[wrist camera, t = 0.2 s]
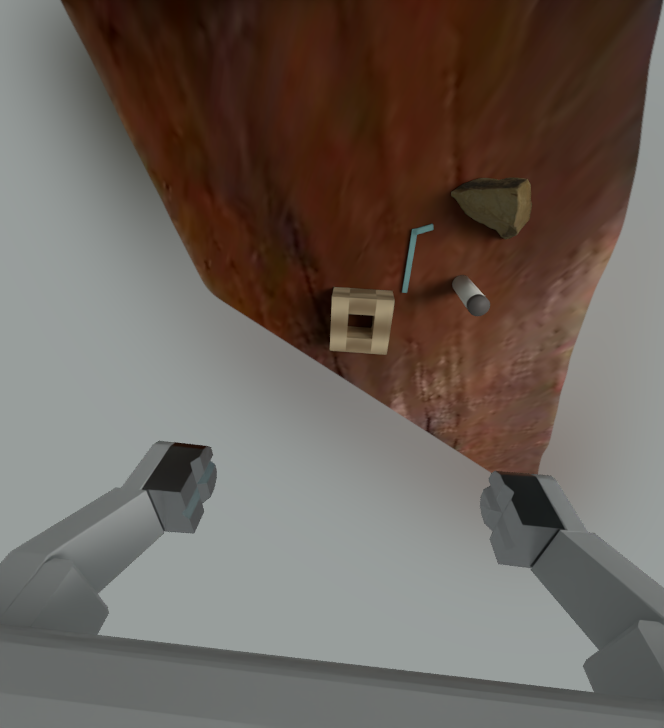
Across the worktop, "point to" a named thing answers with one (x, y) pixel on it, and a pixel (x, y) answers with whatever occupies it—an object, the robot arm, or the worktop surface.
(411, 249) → the hex key
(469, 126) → the worktop surface
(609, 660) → the robot arm
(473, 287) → the long grey cylinder
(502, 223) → the rock
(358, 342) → the wooden block with hole
